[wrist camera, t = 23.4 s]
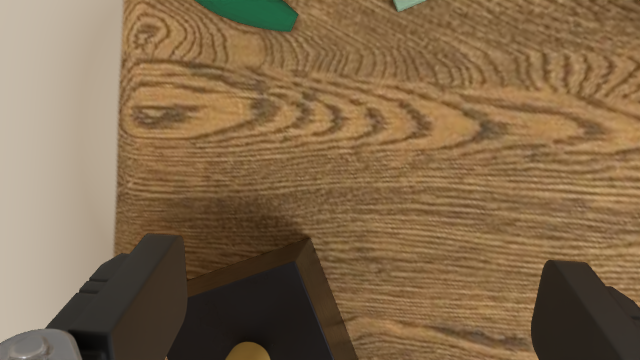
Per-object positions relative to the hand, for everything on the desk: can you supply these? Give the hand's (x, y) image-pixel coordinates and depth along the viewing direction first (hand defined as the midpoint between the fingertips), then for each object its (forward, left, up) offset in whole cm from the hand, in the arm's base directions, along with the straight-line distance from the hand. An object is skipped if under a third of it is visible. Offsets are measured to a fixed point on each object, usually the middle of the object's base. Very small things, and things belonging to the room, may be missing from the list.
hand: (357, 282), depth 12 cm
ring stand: (-10, -7, -20) cm, 23 cm away
